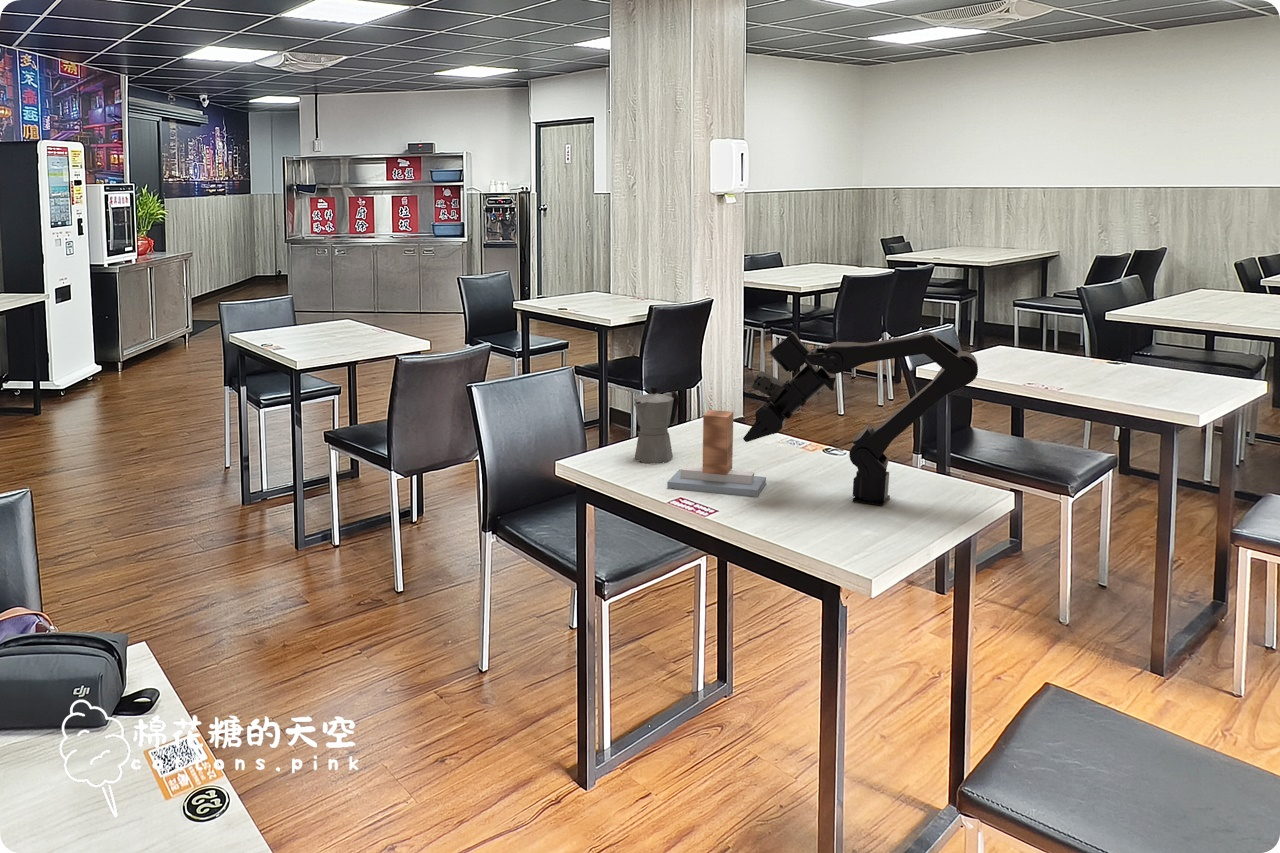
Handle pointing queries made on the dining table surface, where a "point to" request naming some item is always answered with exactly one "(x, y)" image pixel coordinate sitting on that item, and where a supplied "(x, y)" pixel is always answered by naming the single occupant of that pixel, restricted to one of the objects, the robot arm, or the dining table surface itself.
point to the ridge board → (717, 482)
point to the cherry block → (717, 442)
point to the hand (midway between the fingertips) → (749, 435)
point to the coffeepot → (655, 425)
